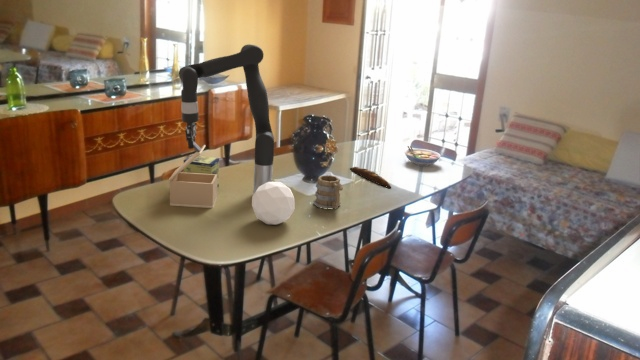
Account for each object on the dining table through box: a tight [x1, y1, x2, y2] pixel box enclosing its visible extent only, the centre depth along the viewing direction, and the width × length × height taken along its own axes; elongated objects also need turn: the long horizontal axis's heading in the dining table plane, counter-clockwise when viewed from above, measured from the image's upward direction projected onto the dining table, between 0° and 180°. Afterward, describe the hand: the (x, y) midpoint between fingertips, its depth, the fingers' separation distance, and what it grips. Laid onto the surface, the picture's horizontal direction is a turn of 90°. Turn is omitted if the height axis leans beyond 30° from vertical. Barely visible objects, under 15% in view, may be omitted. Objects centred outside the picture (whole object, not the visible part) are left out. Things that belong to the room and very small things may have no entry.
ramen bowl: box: [404, 145, 441, 167], centre depth 356 cm, size 25×23×8 cm
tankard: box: [312, 174, 344, 209], centre depth 273 cm, size 20×13×15 cm, turn 23°
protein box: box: [183, 154, 220, 188], centre depth 286 cm, size 10×16×16 cm
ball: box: [251, 181, 296, 226], centre depth 250 cm, size 19×20×20 cm
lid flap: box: [168, 137, 206, 182], centre depth 263 cm, size 20×14×9 cm
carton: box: [169, 171, 218, 209], centre depth 268 cm, size 20×14×12 cm
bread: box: [349, 166, 392, 189], centre depth 322 cm, size 38×5×5 cm, turn 35°
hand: (191, 146), depth 261 cm, fingers closed on lid flap, 4 cm apart
